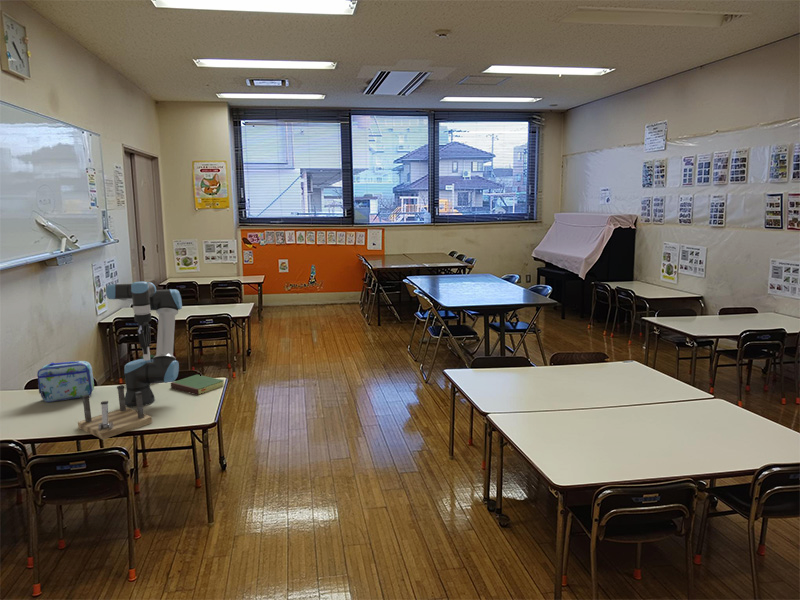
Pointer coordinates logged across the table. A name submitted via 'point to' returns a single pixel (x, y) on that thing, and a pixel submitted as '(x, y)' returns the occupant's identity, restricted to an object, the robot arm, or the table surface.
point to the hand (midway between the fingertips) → (147, 359)
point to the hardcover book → (197, 384)
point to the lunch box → (65, 380)
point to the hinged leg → (105, 415)
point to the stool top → (115, 417)
